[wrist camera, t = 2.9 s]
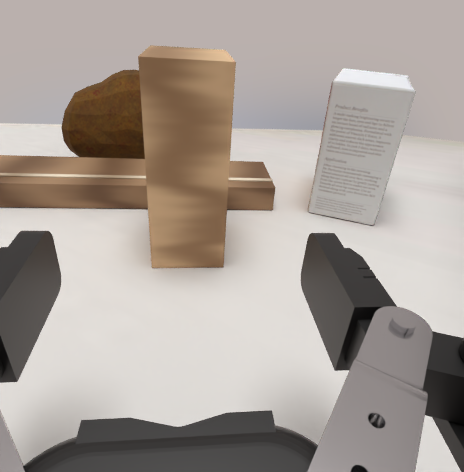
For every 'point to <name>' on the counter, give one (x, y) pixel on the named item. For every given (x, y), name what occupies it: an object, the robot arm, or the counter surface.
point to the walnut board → (111, 183)
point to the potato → (106, 119)
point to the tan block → (187, 152)
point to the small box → (359, 143)
